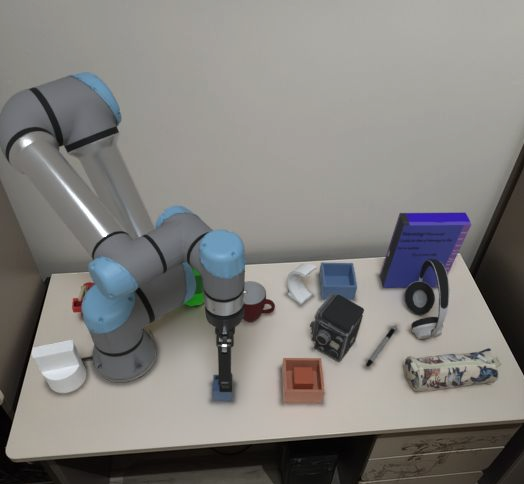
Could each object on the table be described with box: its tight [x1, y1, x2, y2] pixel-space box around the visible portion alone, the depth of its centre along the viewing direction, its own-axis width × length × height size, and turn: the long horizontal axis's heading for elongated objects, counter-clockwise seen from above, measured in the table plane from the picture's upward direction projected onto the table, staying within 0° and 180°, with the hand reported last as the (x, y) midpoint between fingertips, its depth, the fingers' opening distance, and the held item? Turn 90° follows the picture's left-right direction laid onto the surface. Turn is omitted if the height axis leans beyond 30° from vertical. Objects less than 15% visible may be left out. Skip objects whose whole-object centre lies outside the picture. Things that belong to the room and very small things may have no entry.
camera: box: [309, 294, 365, 362], centre depth 122 cm, size 10×10×15 cm
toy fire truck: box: [71, 281, 95, 317], centre depth 129 cm, size 3×14×10 cm, turn 6°
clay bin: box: [281, 357, 326, 404], centre depth 117 cm, size 9×9×5 cm
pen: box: [365, 324, 398, 368], centre depth 127 cm, size 1×16×1 cm, turn 144°
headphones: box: [404, 259, 450, 340], centre depth 126 cm, size 19×8×20 cm, turn 0°
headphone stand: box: [286, 262, 318, 305], centre depth 134 cm, size 5×6×12 cm
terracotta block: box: [292, 367, 314, 389], centre depth 117 cm, size 4×4×4 cm
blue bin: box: [318, 262, 358, 301], centre depth 138 cm, size 9×9×5 cm
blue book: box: [379, 212, 472, 289], centre depth 134 cm, size 17×5×24 cm, turn 93°
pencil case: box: [403, 347, 503, 392], centre depth 118 cm, size 22×8×10 cm, turn 97°
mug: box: [242, 280, 276, 323], centre depth 129 cm, size 10×8×10 cm
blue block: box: [211, 374, 234, 402], centre depth 116 cm, size 4×4×4 cm
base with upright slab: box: [31, 339, 88, 394], centre depth 114 cm, size 9×9×12 cm
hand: (226, 363), depth 108 cm, fingers open, 13 cm apart
